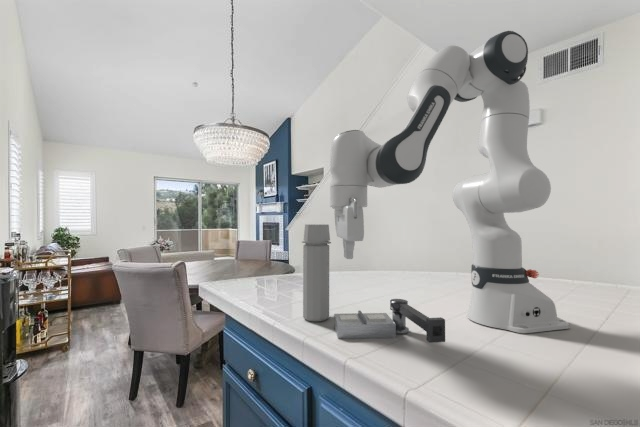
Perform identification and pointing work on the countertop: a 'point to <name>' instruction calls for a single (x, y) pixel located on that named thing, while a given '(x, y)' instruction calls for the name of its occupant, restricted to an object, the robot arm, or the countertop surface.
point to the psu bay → (364, 325)
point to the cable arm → (421, 320)
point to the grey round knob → (400, 322)
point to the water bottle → (316, 272)
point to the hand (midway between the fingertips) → (348, 258)
